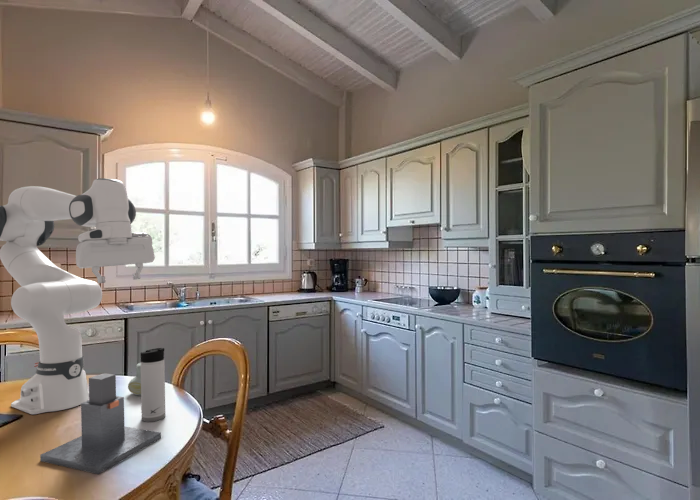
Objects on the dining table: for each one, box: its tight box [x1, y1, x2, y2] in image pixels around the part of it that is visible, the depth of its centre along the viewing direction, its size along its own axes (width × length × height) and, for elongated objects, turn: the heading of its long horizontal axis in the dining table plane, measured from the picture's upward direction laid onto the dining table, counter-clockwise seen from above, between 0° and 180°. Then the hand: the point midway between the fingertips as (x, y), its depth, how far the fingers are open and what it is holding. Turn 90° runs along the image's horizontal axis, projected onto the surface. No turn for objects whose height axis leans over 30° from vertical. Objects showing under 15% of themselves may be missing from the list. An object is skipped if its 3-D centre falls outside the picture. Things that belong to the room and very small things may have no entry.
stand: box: [39, 395, 162, 475], centre depth 104 cm, size 18×18×12 cm
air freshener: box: [127, 362, 141, 397], centre depth 144 cm, size 11×8×10 cm
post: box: [88, 372, 117, 405], centre depth 104 cm, size 4×4×16 cm
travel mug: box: [139, 347, 166, 423], centre depth 123 cm, size 6×7×20 cm
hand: (119, 281), depth 123 cm, fingers open, 8 cm apart
